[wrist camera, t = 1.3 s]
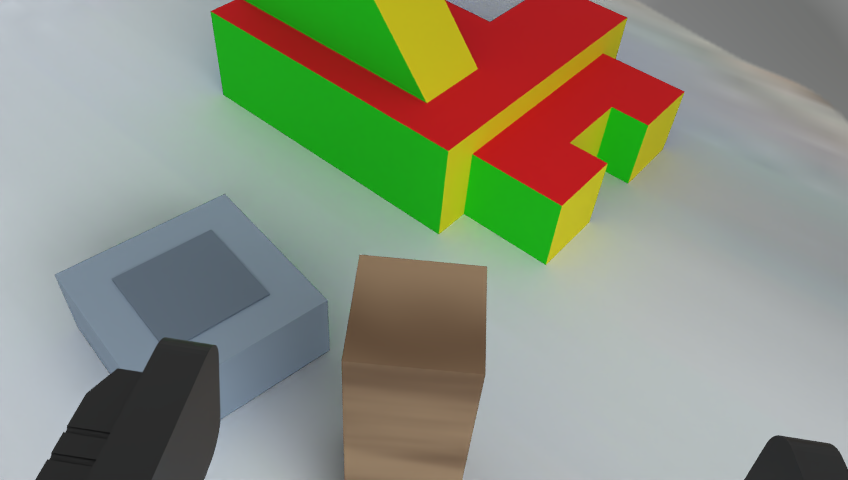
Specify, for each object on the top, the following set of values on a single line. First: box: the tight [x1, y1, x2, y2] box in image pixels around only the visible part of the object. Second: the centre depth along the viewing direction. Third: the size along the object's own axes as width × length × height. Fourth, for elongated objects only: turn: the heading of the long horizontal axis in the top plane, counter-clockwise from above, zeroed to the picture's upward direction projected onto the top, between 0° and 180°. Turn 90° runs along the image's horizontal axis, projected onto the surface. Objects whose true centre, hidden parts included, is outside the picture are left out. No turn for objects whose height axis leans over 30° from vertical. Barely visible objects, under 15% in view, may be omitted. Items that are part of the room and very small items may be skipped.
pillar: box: [342, 255, 487, 480], centre depth 30 cm, size 4×4×12 cm
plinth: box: [55, 194, 330, 419], centre depth 37 cm, size 9×9×4 cm
